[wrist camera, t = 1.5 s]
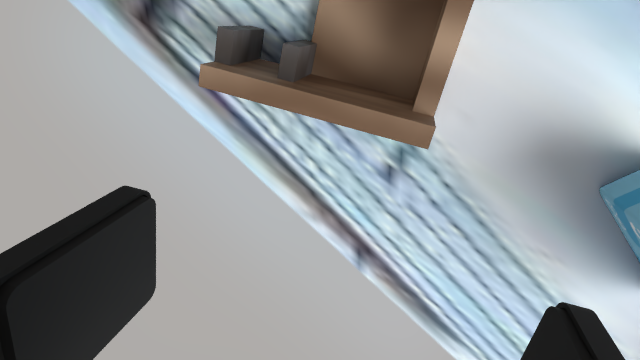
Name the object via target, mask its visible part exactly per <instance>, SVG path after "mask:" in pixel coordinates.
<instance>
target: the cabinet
mask: <svg viewBox="0 0 640 360" xmlns="http://www.w3.org/2000/svg"><path fill="white" fill-rule="evenodd" d="M473 1H474V0H319V5H318V10H317V16H316V21H315V26H314V31H313V36H312V41H309V40H300V41H293V42H286V43H283V47H282V53H281V59H280V64H278V63H275V62H271V61H267V60H263V59H260V56H261V49H262V42H263V35H264V29H261V28H257V27H253V26H218V31H217V41H216V51H215V61H214V62H209V63H204V64H201V66H200V77H199V86H200V87H204V88H207V89H211V90H215V91H218V92H222V93H225V94H229V95H233V96H236V97H240V98H244V99H247V100H251V101H254V102H258V103H262V104H265V105H269V106H273V107H276V108H280V109H283V110H287V111H291V112H294V113H298V114H302V115H305V116H309V117H313V118H316V119H320V120H323V121H327V122H331V123H334V124H338V125H342V126H345V127H349V128H352V129H356V130H360V131H363V132H367V133H371V134H374V135H378V136H381V137H385V138H389V139H392V140H396V141H400V142H403V143H407V144H411V145H414V146H418V147H421V148H425V149H428V148H429V145H430V142H431V139H432V136H433V134H434V131H435V128H436V126H435V121H434V114H435V111H436V108H437V106H438V103H439V100H440V97H441V94H442V91H443V88H444V85H445V82H446V80H447V77H448V74H449V71H450V68H451V65H452V62H453V59H454V56H455V54H456V51H457V48H458V45H459V42H460V39H461V36H462V33H463V30H464V27H465V25H466V22H467V19H468V16H469V13H470V10H471V7H472V4H473Z"/></svg>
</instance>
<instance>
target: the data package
mask: <svg viewBox="0 0 640 360" xmlns="http://www.w3.org/2000/svg"><path fill="white" fill-rule="evenodd" d="M600 194H601V197H602V198H603V200H604V202H605V204H606V205H607V207H608V209H609V211H610V212H611V214H612V216H613V217H614V219H615V221H616V223H617V224H618V226H619V228H620V229H621V231H622V233H623V235H624V236H625V238H626V240H627V241H628V243H629V245H630V247H631V248H632V250H633V252H634V253H635V255H636V257H637V259H638V260H639V262H640V170H638V171H636V172H634V173H631V174H629V175H627V176H625V177H623V178H620V179H618V180H616V181H614V182H612V183H609V184H607V185H605V186H603V187H601V188H600Z"/></svg>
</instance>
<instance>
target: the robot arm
mask: <svg viewBox="0 0 640 360" xmlns="http://www.w3.org/2000/svg"><path fill="white" fill-rule="evenodd" d="M155 288H156V203H155V201H154V199H152V198H151V195H150V193H149V192H147V191H145V190H141V189H137V188H133V187H129V186H122V187H120V188H118V189H116V190H115V191H113V192H111V193H109V194H107V195H106V196H104V197H102V198H100V199H98V200H96V201H95V202H93V203H91V204H89V205H87V206H86V207H84V208H82V209H80V210H79V211H77V212H75V213H73V214H71V215H69V216H68V217H66V218H64V219H62V220H61V221H59V222H57V223H55V224H53V225H51V226H50V227H48V228H46V229H44V230H42V231H40V232H39V233H37V234H35V235H33V236H32V237H30V238H28V239H26V240H24V241H22V242H21V243H19V244H17V245H15V246H13V247H12V248H10V249H8V250H6V251H4V252H3V253H1V254H0V360H93V358H95V357H96V356H97V354H98V353H99V352H100V351H101V350H102V349H103V348H104V347H105V346H106V345H107V344H108V343H109V342H110V341H111V340H112V339H113V338H114V337H115V336H116V335H117V334H118V332H119V331H120V330H121V329H122V328H123V327H124V326H125V325H126V324H127V323H128V322H129V321H130V320H131V319H132V318H133V317H134V316H135V315H136V314H137V313H138V311H140V309H141V308H142V307H143V306H144V305H145V304H146V303H147V302H148V301H149V300H150V299H151V297H152V296H153V293H154V291H155ZM521 360H625V359H624V357H623V356H622V354H621V352H620V351H619V349H618V348H617V346H616V345H615V343H614V341H613V340H612V338H611V337H610V335H609V334H608V332H607V331H606V329H605V327H604V326H603V324H602V323H601V321H600V320H599V318H598V316H597V315H596V314H595V312H594V311H592V310H590V309H587V308H583V307H579V306H575V305H572V304H568V303H564V302H562V303H559V304H558V305H557V306H556V307H553V306H551V307H549V308H547V310H546V311H545V313H544V315H543V317H542V319H541V321H540V323H539V325H538V327H537V329H536V331H535V333H534V334H533V336H532V338H531V340H530V342H529V344H528V346H527V348H526V350H525V352H524V354H523V356H522V358H521Z"/></svg>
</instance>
